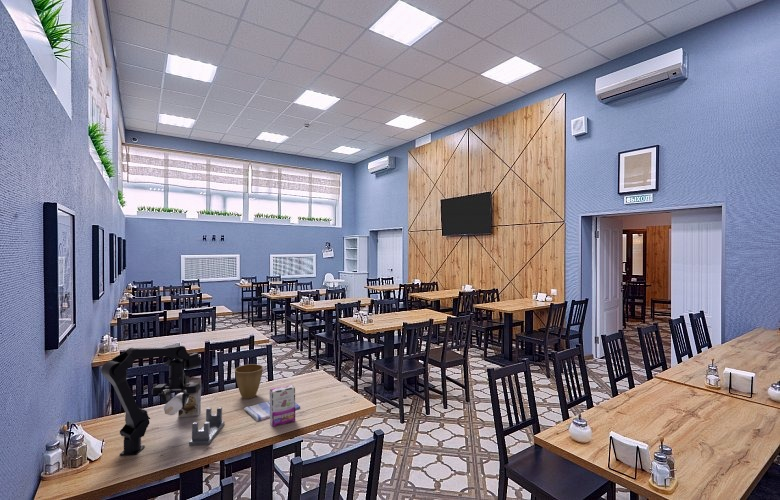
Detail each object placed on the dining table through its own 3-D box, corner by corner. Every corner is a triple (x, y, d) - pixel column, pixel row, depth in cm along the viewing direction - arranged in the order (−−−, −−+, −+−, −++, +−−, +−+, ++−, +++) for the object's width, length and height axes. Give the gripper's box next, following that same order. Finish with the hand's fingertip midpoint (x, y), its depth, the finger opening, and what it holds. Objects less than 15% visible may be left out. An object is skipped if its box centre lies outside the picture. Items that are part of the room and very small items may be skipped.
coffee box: (177, 418, 182) (178, 385, 182) (181, 412, 188) (181, 380, 188) (198, 415, 184) (198, 383, 184) (201, 410, 190) (201, 379, 190)
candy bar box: (292, 417, 183) (292, 384, 183) (295, 421, 179) (295, 387, 179) (269, 423, 177) (269, 388, 177) (272, 427, 172) (272, 391, 173)
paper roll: (173, 418, 159) (173, 404, 159) (159, 419, 158) (159, 405, 158) (192, 401, 177) (192, 389, 177) (179, 402, 176) (178, 389, 176)
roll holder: (208, 444, 157) (208, 424, 157) (188, 445, 156) (189, 425, 156) (224, 423, 176) (224, 405, 176) (206, 424, 175) (206, 406, 175)
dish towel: (243, 411, 191) (243, 406, 191) (286, 399, 206) (286, 394, 206) (255, 423, 178) (255, 417, 178) (300, 409, 193) (300, 404, 193)
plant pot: (228, 399, 205) (228, 370, 205) (248, 390, 219) (248, 362, 219) (249, 403, 199) (249, 373, 199) (268, 393, 213) (268, 365, 213)
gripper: (205, 366, 176) (205, 399, 176) (164, 368, 175) (163, 401, 175) (195, 374, 165) (195, 409, 165) (151, 375, 163) (151, 411, 163)
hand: (176, 407), depth 167 cm, fingers closed on paper roll, 6 cm apart
